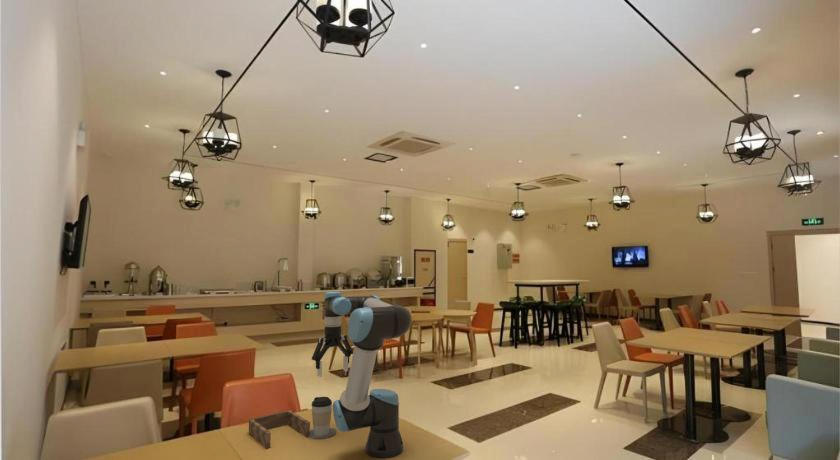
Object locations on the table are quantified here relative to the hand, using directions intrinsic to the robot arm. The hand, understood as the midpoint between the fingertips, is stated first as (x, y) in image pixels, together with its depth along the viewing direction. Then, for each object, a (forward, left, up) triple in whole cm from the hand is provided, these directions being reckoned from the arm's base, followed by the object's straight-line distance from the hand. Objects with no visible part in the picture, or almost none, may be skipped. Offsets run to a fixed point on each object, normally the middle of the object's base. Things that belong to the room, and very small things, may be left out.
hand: (332, 373), depth 193 cm
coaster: (+2, +4, -26) cm, 26 cm away
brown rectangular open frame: (+14, +19, -26) cm, 35 cm away
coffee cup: (+1, +5, -25) cm, 26 cm away
